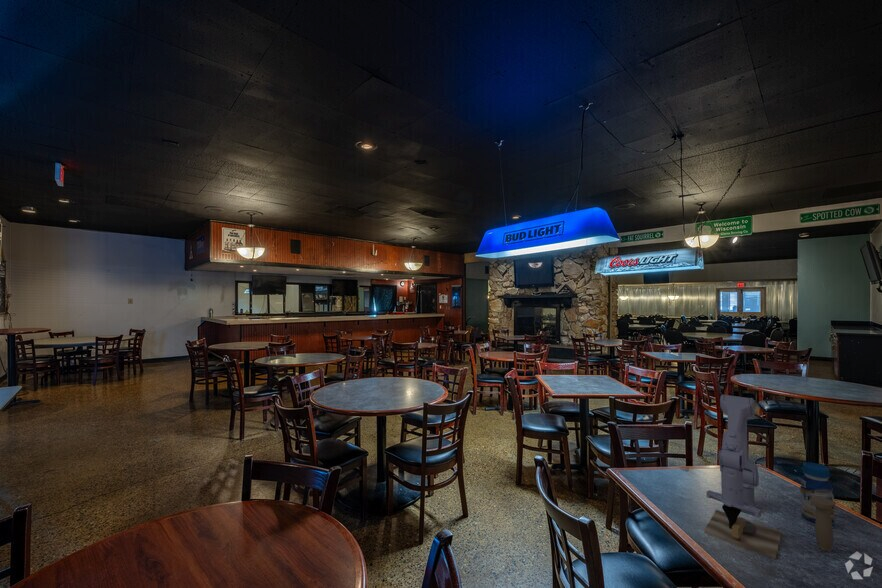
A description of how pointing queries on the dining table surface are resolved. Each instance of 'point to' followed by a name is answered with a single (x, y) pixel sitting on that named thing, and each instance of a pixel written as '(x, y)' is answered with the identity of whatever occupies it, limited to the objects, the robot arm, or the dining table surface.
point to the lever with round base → (742, 527)
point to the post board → (746, 535)
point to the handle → (823, 522)
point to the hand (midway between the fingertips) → (733, 528)
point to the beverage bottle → (814, 490)
